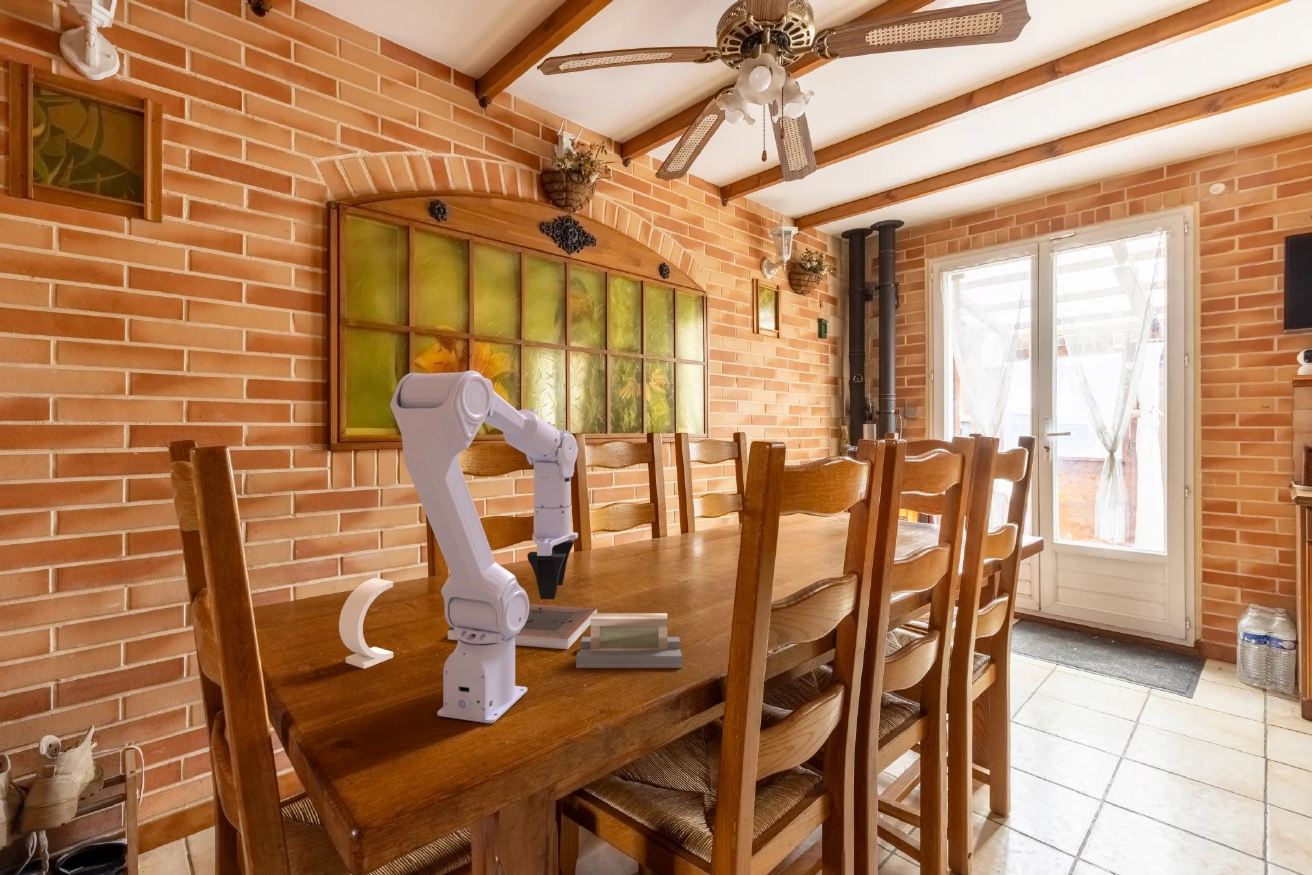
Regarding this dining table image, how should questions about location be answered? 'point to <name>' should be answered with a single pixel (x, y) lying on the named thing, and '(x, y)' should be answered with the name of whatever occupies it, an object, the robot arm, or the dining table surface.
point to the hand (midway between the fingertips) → (552, 591)
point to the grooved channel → (630, 657)
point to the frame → (629, 631)
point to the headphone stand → (354, 620)
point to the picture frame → (550, 626)
